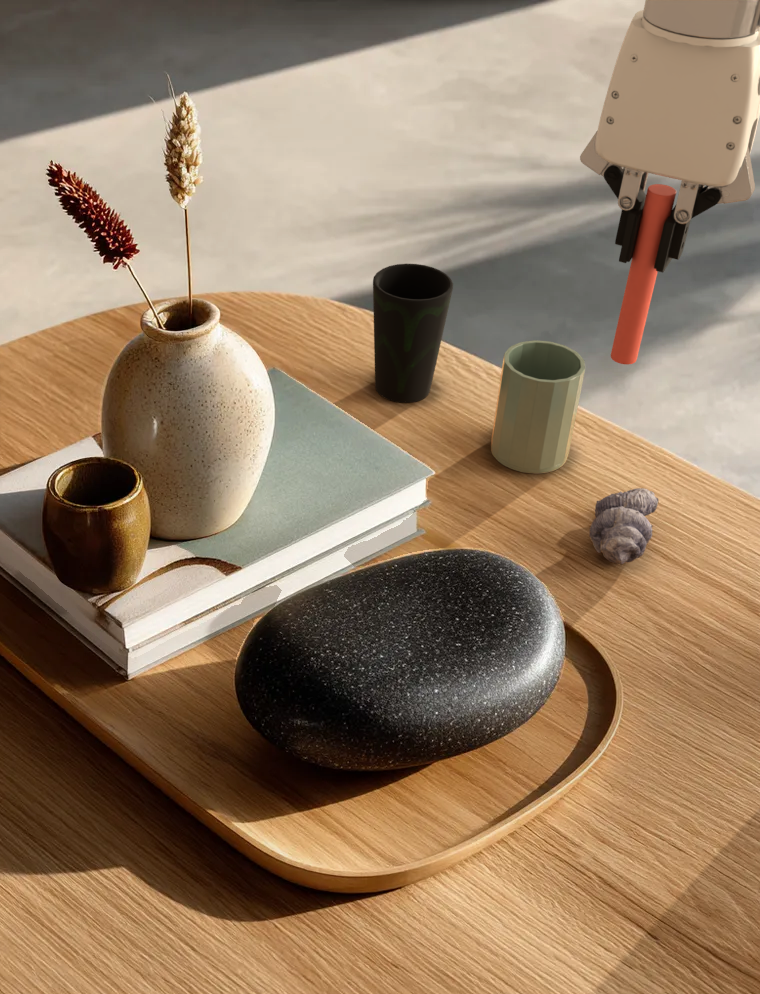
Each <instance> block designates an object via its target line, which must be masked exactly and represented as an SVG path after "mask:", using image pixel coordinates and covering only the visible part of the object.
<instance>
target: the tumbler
mask: <svg viewBox="0 0 760 994" xmlns="http://www.w3.org/2000/svg"><path fill="white" fill-rule="evenodd" d="M585 372H586V363H585V359H584V358H583V357H582V356H581V355H580V354H579V352H578V351H576V350H574V349H572V348H570V347H569V346H567V345H565V344H561V343H558V342H553V341H549V340H537V339H536V340H527V341H526V340H525V341H519V342H518V343H515V344H513V345H511V346H509V347H508V349H506V351H505V352H504V353H503V359H502V366H501V371H500V379H499V384H498V385H499V386H498V393H497V398H496V399H497V400H496V406H495V413H494V418H493V426H492V431H491V438H490V441H491V443H490V451H491V454H492V456H493V458H494V459H495V460H496V461H497V462H498V463H499V464H501V465H502V466H504V467H506V468H509V469H511V470H514V471H516V472H520V473H525V474H535V475H536V474H546V473H547V474H548V473H552V472H555V471H556V470H559V469H560V468H562V467H563V466H564V465H565V463H566V462H567V460H568V456H569V454H570V450H571V444H572V439H573V434H574V429H575V424H576V420H577V419H576V418H577V415H578V414H577V413H578V408H579V402H580V397H581V393H582V389H583V382H584V379H585V378H584V377H585Z"/></svg>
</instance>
